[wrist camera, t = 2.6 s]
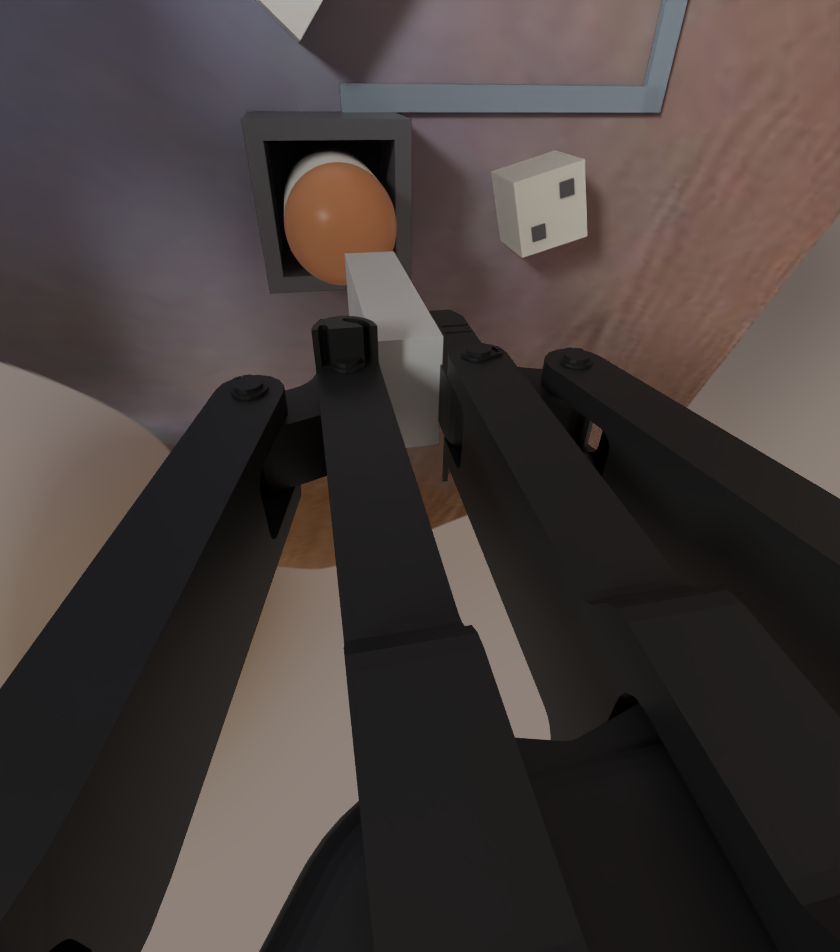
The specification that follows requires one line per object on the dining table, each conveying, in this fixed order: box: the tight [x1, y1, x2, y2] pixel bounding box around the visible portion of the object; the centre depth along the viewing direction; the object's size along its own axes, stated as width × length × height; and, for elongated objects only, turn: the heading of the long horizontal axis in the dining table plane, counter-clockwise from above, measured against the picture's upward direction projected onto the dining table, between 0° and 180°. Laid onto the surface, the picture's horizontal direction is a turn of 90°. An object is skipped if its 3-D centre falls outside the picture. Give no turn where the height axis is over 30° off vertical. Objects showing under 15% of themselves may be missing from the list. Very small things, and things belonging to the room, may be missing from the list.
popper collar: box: [241, 112, 412, 294], centre depth 28 cm, size 8×8×5 cm
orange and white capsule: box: [284, 148, 397, 285], centre depth 24 cm, size 5×5×8 cm
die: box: [491, 150, 587, 258], centre depth 30 cm, size 4×4×4 cm
